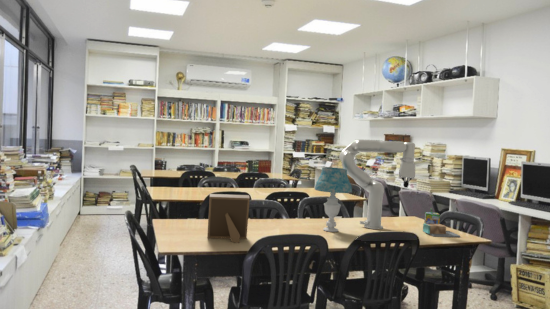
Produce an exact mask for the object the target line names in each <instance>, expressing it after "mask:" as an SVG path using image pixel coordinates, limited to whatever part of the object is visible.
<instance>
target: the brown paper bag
mask: <svg viewBox="0 0 550 309" xmlns="http://www.w3.org/2000/svg"><path fill="white" fill-rule="evenodd" d="M422 225H423V226H422V232H423V231H424V233H425V232H426V233H425V234H427V233H428V234H427V235H429V234H446V231H447V226H446V225H443V224H441V223H440V224H424V223H423V224H422Z"/></svg>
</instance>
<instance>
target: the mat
mask: <svg viewBox="0 0 550 309" xmlns="http://www.w3.org/2000/svg"><path fill="white" fill-rule="evenodd" d="M422 232H424V231H423V230H422ZM424 233H425V234H427V235H429V236H431V237H433V238H434V237H437V238H439V237H440V238H461V235H459V234H457V233H455V232H453V231H450V230H446V234H428V233H426V232H424Z"/></svg>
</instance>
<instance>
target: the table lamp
mask: <svg viewBox="0 0 550 309" xmlns="http://www.w3.org/2000/svg"><path fill="white" fill-rule="evenodd" d="M314 190H315V191H318V192H323V193H330V196H329V197H327V198H326V200H327V201H326V202H324V203H323V206H324V213H325V215H326V216H327V217H328V220H326V223H325V225H326V227H323V228H322V230H323V231H325V232H329V233H330V232H331V233H338V232H339V231H340V230H339V229H338V228H336V226H337V222H336V221H335V217H336V216H338V215H339V213H340V208H341V206H342V204H341V203H339V198H338V197H337V196H336V194H349V193H350V194H351V193H352V192H353V188H352V184H351V182H350V179H349V177H348V174H347V169H343V167H342V168H341V167H327V166H326V167H322V168H321V173H320V176H319V177H318V179H317V181H316V182H315V185H314Z"/></svg>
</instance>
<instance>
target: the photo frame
mask: <svg viewBox="0 0 550 309" xmlns="http://www.w3.org/2000/svg"><path fill="white" fill-rule="evenodd" d="M250 197H251V196H250V195H249V194H226V193H225V194H223V193H209V198H208V199H209V201H208V204H209V205H208V218H207V220H208V221H207V239H226V240H227V239H230V242H232V243H236V244H240V240H247V237H248V236H247V235H248V225H249V213H250V212H249V210H250V201H251V200H250V199H251V198H250Z"/></svg>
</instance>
